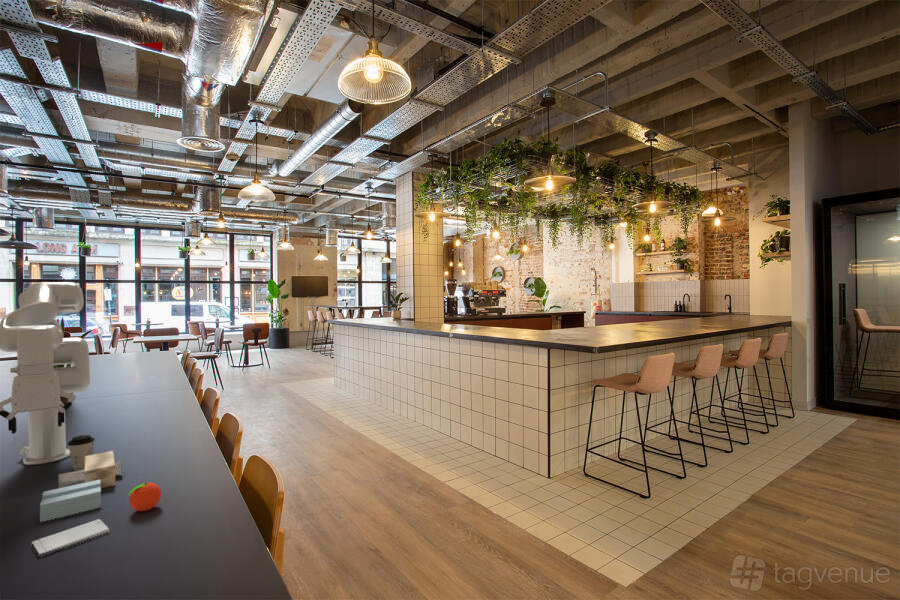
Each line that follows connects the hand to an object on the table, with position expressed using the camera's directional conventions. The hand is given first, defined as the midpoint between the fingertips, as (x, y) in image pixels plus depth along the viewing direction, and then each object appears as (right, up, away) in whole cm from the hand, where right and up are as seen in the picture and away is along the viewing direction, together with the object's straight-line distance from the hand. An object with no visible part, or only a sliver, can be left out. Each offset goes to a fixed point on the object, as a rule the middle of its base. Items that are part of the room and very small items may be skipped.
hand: (37, 429), depth 126 cm
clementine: (+38, -19, -11) cm, 44 cm away
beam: (+11, -18, +9) cm, 23 cm away
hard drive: (+31, -19, -24) cm, 44 cm away
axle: (+9, -19, +8) cm, 22 cm away
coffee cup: (-3, -19, +19) cm, 27 cm away
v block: (+17, -19, -8) cm, 26 cm away
